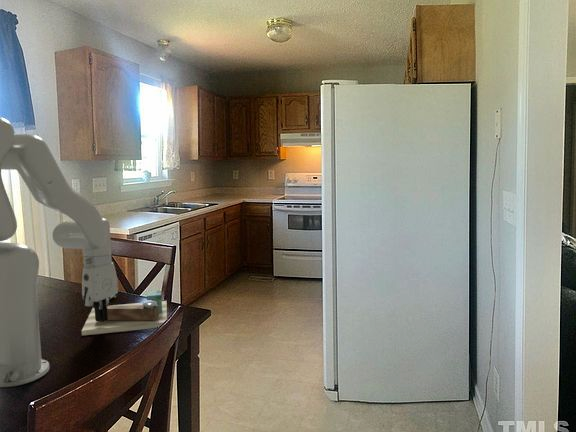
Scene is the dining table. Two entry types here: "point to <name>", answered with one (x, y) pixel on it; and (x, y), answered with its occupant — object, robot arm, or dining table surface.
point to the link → (132, 312)
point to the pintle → (149, 304)
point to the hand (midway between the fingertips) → (101, 320)
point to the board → (122, 322)
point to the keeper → (156, 298)
